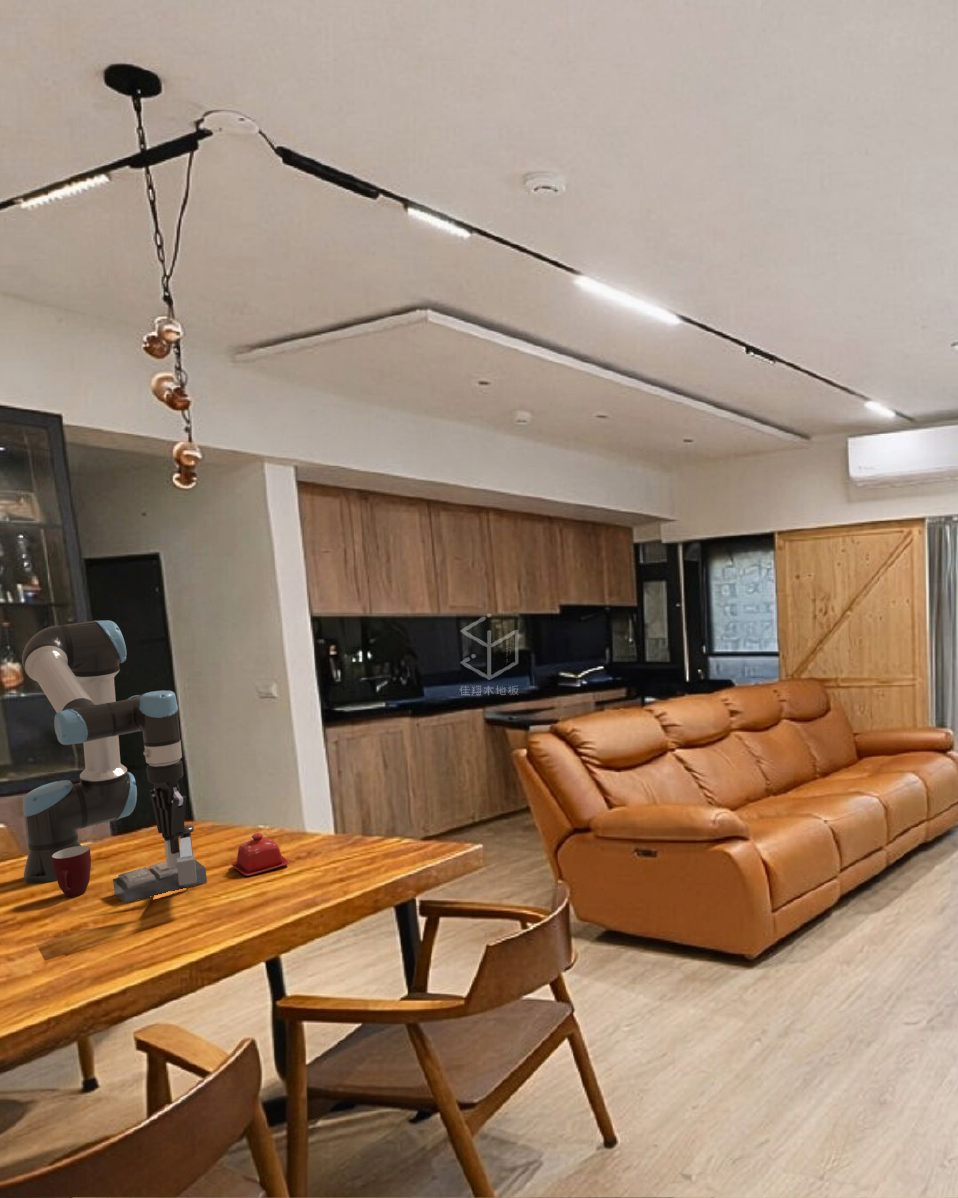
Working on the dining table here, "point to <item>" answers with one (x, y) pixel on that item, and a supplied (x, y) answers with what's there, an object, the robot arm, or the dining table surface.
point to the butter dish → (258, 856)
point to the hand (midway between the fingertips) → (174, 866)
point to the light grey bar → (186, 863)
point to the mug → (72, 869)
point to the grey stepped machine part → (154, 879)
